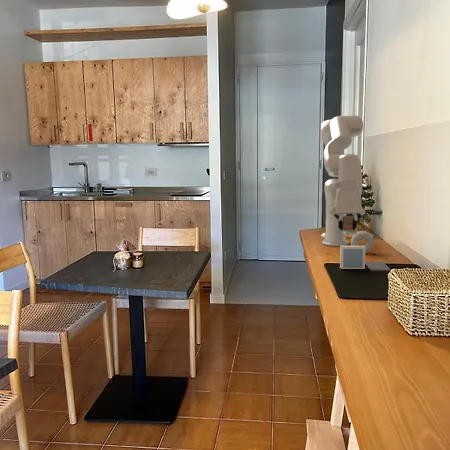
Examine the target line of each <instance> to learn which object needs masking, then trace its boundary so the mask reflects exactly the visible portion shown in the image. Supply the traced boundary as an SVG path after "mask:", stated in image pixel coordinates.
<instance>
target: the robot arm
mask: <svg viewBox="0 0 450 450" xmlns="http://www.w3.org/2000/svg"><path fill="white" fill-rule="evenodd" d="M363 130H364V121H363V119H362V117H361V116H360V115H338V116H335V117H333V118H332V119H327V120H324V121H323V122H322V123H321V127H320V134H321V138H322V141H323V144H324V146H325V147H324V150H323V163H324V169H325V171H326V172H327V174H328V176H330V177H335V178H330V179H328V180H327V181H325V183H324V186H323V187H324V195H325V232H323V233H322V234H321V235H320V237H321V238H324V239H322V244H323V245H325V246H330V247H331V246H332V247H340V246H349V244H350V242H349V240H347V239H346V238H347V236H346V235H347V234H344V233H343V232H342V230H343V221H342V216H347V215H348V214H349V215H352V217H353V230H354V231H355V232H356V229H357V228H358V227H357V225H358V224H357V221H358V220H359V219H361V217H362V216H364V215H365V214H366V213H367V212H366V210H365V209H364V208H363V206H362V195H363V175H362V171H363V170H362V164H361V163H362V162H361V160H360V158H359V156H358V155H357V154H355V153H353V154H352V153H345V150H346V149H348V148H349V147H350V146H351V145H352V142H353V139H352V138H353V137H354V138H356V137H357V136H360V135H361V134H362V132H363ZM336 177H337V178H336Z"/></svg>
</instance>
